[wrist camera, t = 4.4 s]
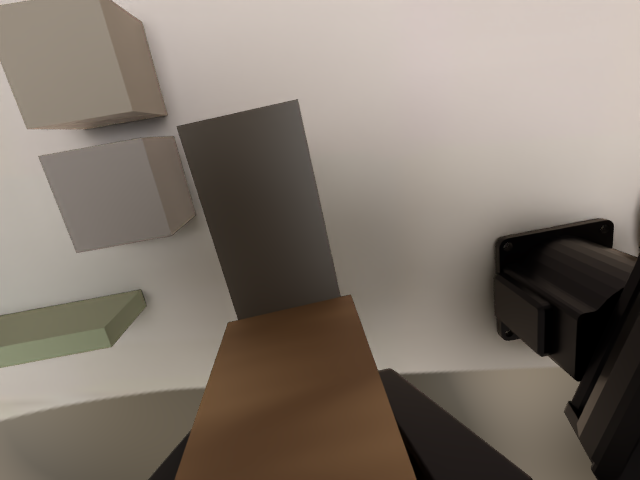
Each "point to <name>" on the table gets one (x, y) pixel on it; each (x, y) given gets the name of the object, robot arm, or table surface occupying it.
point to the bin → (67, 328)
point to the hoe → (281, 320)
